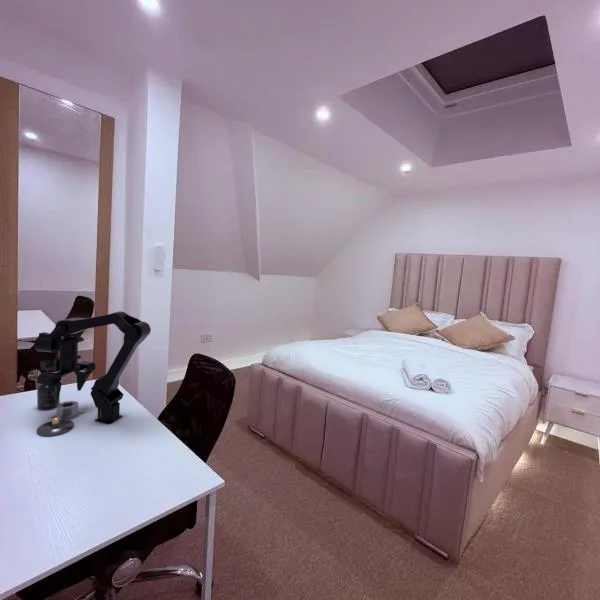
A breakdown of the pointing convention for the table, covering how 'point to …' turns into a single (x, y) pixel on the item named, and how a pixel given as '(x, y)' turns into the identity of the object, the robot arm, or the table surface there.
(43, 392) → the supplement bottle
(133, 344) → the robot arm
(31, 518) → the table surface
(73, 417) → the stand pad
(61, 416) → the ring
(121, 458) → the table surface
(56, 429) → the hub
